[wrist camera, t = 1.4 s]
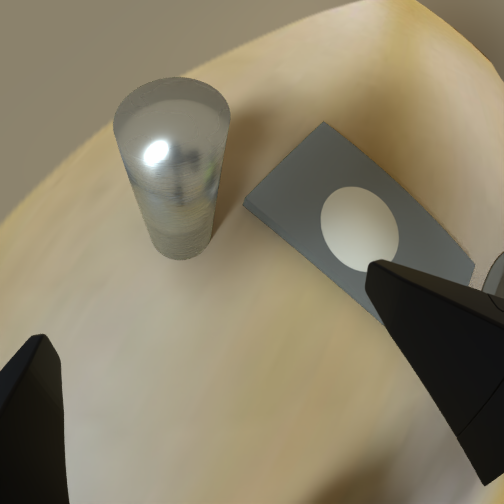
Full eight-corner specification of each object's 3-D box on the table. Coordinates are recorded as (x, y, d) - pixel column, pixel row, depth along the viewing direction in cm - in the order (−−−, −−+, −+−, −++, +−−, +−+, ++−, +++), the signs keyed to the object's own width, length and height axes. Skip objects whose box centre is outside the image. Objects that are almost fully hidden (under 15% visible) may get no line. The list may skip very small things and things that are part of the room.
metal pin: (224, 228, 22) (254, 114, 11) (182, 273, 21) (168, 186, 10) (180, 190, 23) (175, 64, 11) (137, 232, 21) (91, 121, 10)
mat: (467, 267, 26) (475, 264, 24) (426, 363, 22) (436, 363, 21) (318, 129, 27) (323, 120, 25) (242, 205, 23) (245, 197, 22)
